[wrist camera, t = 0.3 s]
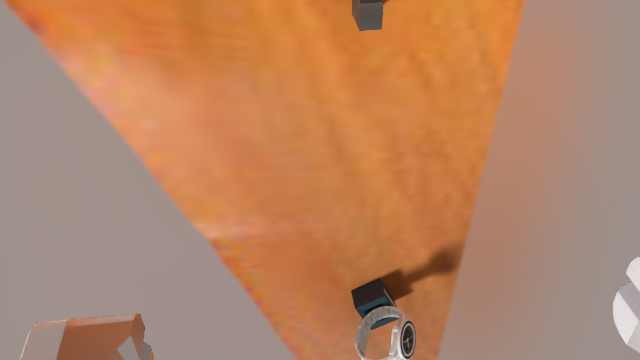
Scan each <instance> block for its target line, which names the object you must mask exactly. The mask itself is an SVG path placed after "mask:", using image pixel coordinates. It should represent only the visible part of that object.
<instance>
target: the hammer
mask: <svg viewBox="0 0 640 360" xmlns="http://www.w3.org/2000/svg"><path fill="white" fill-rule="evenodd" d="M352 15H353V17H354V19H355V21H356V24H357V26H358V28H359V30H360V31H364V30H379V29H382V16H383V1H382V0H352Z"/></svg>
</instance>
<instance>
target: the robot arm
mask: <svg viewBox="0 0 640 360" xmlns="http://www.w3.org/2000/svg"><path fill="white" fill-rule="evenodd" d="M626 274H627V276H628V278H629V280H630V281H629V282H628V283H627V284H626V285H625V286H623V287H622V288H621V289H620V290H618V292H617V294H616V297H615V300H614V302H613V316H614V322H615V324H616V327H617V329H618V332H619V334H620V335H621V337H622V338H623V340H624V341H625V343H626V344H627V345H628V346H629V347H631V348H633V349H635V350H636V351H638V352H639V353H640V257H637V258H636V259H635V260H633V261H632V262H631V263H630V265H629V267H628V269H627V271H626ZM144 331H145V327H144V324H143V321H142V318H141V315H140V314H124V315H113V316H102V317H91V318H90V317H89V318H79V319H70V320H60V321H49V322H39V323H36V324H35V325H34V327H33V328H32V329H31V330H30V332H29V334H28V337H27V340H26V343H25V346H24V349H23V352H22V355H21V358H20V360H154V357H153V353H152V349H151V346H150V345H148V344H147V343H145V342H144V341H143V339H144Z"/></svg>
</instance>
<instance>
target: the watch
mask: <svg viewBox="0 0 640 360" xmlns="http://www.w3.org/2000/svg"><path fill="white" fill-rule="evenodd" d="M351 292H352V296H353V301H354V305H355V309H356V310H357V312H358V313H359V314H360V316H361V317H362V318H363V320H361V321H360V323H359V325H358V328H357V331H356V335H355V341H354V345H355V347H356V351H357V353H358V355H359V356H360V357H361V359H362V360H373V359H368V358H366V357H364V356H365V351H366V344H367V340H368V337H369V334H370V332H371V330H373V329H375V328H378V327H380V326H383V325H385V324H387V323H390V322H392V321H395V320H397V319H399V321H397V322H396V324H395V325H394V326H393V331H392V337H391V344H392V346H391V348H390V351H389V354H391V355H389V356H388V357H387V358H386V357H385V358H383V359H378V360H409V359H410V358H411V357H412V355H413V353H414V349H415V344H416V332H415V327H414V325H413V323H412V321H410V320H408V319H407V317H406V315H405V314H404V313H403V312H402V311H401V310H400V309H398V308H396V305H395V301H394V300H393V298H392V297H391V295H390V293H389V292H388V290H387V289H386V287H385V286H384V284H383V283H382V281H381V280H380V279H378V280H375V281H373V282H371V283H368V284H366V285H364V286H361V287H359V288H357V289H354V290H352V291H351ZM370 329H371V330H370Z"/></svg>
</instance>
